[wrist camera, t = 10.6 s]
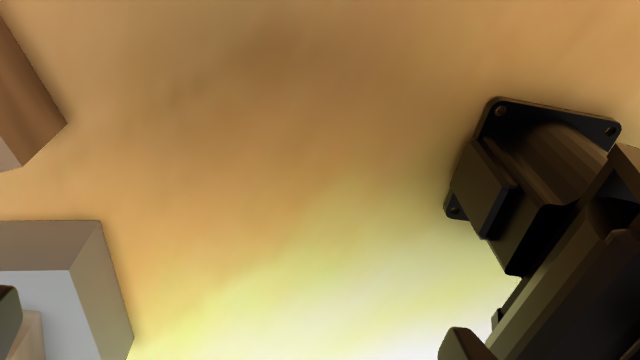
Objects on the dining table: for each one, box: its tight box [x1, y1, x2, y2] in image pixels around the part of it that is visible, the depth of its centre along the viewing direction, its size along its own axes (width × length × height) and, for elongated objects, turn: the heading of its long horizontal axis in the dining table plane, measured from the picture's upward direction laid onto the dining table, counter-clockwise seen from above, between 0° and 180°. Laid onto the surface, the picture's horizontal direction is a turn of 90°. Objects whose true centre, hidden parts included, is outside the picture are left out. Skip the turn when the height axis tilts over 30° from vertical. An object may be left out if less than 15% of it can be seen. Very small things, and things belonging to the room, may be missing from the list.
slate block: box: [0, 220, 134, 360], centre depth 23 cm, size 9×9×4 cm
